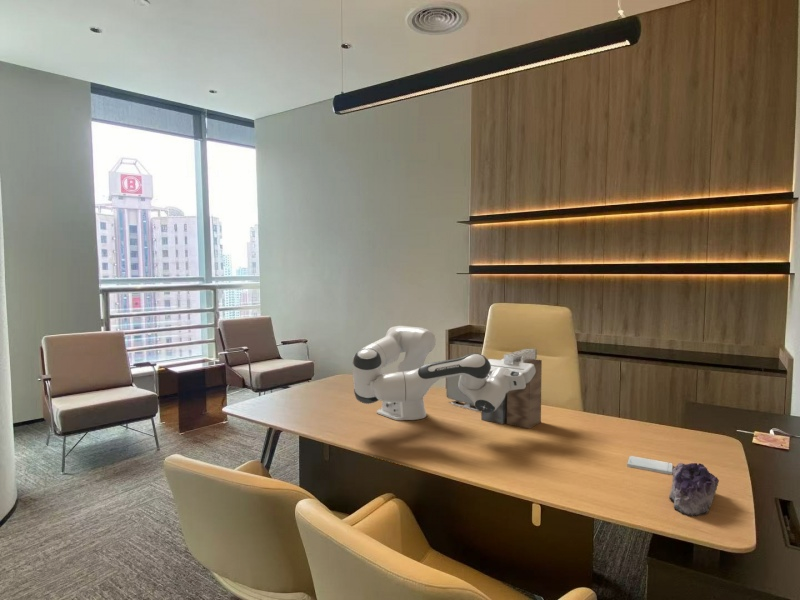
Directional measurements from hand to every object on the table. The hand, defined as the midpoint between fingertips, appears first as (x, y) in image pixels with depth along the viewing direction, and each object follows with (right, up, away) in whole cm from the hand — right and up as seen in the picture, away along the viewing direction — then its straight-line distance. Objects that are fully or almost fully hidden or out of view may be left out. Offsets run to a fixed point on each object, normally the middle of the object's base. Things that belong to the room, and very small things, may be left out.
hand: (516, 357), depth 189 cm
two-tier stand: (0, -28, +10) cm, 30 cm away
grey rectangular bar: (+3, -2, +3) cm, 5 cm away
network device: (-14, -27, +33) cm, 45 cm away
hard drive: (+33, -31, -38) cm, 59 cm away
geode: (+32, -32, -62) cm, 77 cm away
